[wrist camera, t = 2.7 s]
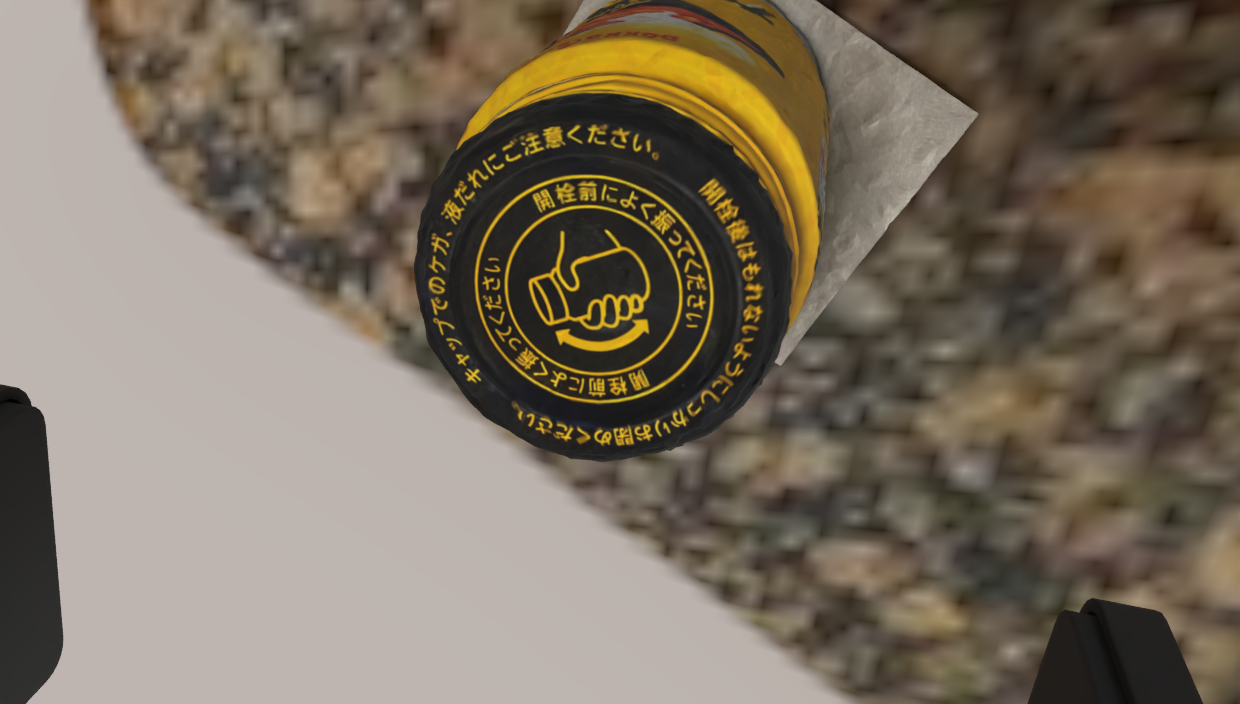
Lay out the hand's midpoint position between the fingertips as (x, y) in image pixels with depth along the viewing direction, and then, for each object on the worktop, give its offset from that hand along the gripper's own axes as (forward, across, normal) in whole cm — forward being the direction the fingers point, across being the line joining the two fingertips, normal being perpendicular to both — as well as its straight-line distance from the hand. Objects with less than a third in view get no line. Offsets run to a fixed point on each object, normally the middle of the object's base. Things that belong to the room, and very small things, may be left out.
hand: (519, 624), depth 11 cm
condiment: (+18, 0, 0) cm, 18 cm away
